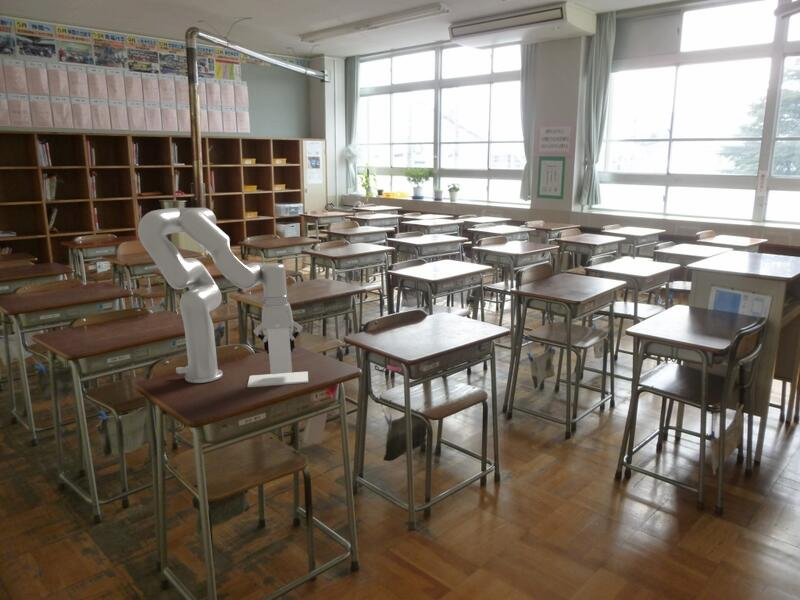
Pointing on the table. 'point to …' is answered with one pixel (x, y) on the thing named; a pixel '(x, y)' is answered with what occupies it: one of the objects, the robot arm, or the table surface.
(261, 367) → the table surface
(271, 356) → the milk carton
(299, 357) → the table surface
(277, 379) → the mat
